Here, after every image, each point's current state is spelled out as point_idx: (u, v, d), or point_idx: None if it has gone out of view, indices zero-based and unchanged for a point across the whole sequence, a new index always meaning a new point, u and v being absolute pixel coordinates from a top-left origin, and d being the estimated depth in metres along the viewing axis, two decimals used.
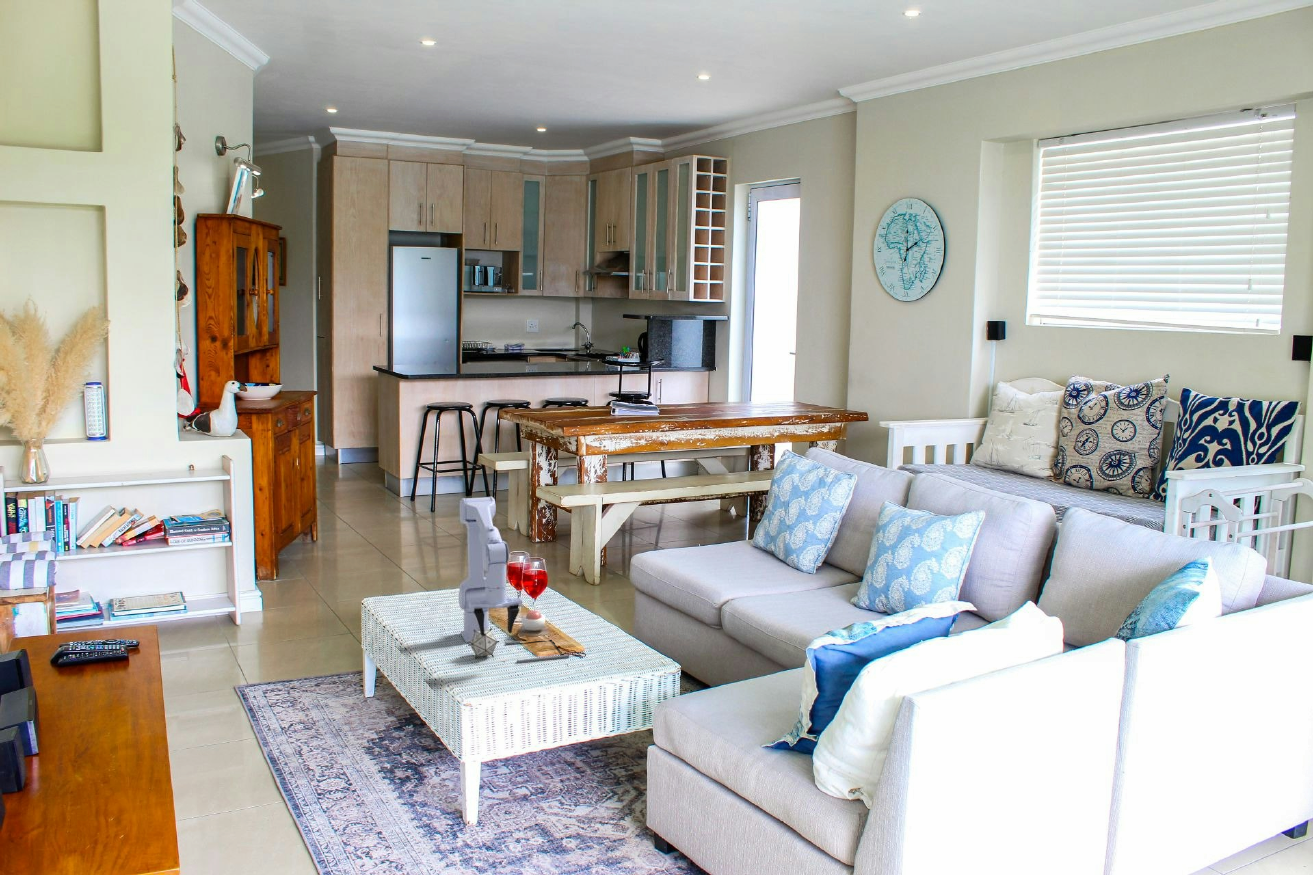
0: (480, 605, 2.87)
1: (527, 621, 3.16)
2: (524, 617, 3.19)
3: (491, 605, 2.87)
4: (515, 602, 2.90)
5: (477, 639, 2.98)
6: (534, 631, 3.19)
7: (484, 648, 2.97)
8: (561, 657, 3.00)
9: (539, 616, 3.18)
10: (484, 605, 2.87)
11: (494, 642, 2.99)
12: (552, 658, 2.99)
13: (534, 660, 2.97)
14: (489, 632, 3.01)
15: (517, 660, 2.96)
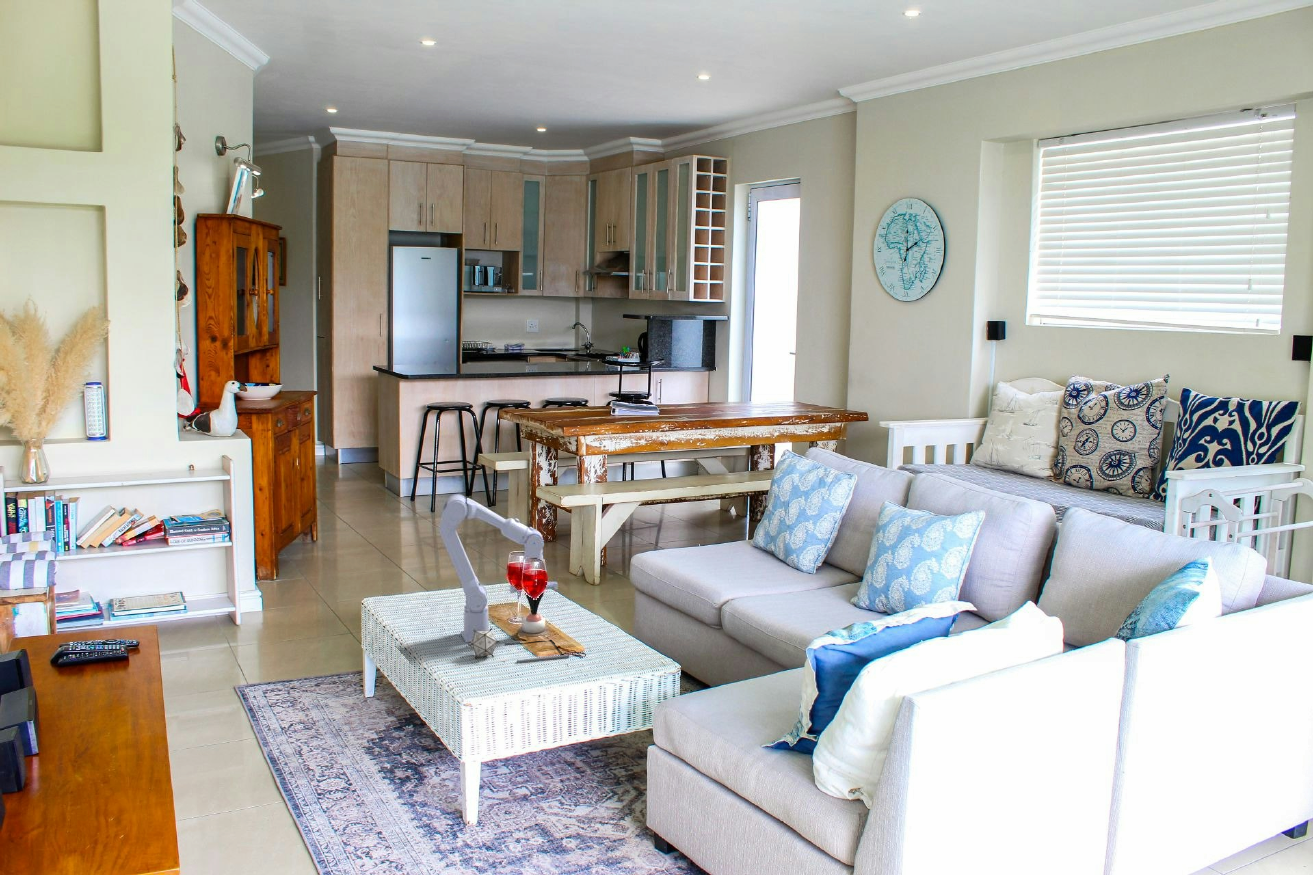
0: None
1: (527, 623, 3.16)
2: (524, 619, 3.19)
3: None
4: (551, 585, 3.18)
5: (477, 639, 2.98)
6: None
7: (484, 648, 2.97)
8: (561, 657, 3.00)
9: (539, 618, 3.18)
10: None
11: (494, 642, 2.99)
12: (552, 658, 2.99)
13: (534, 660, 2.97)
14: (489, 632, 3.01)
15: (517, 660, 2.96)
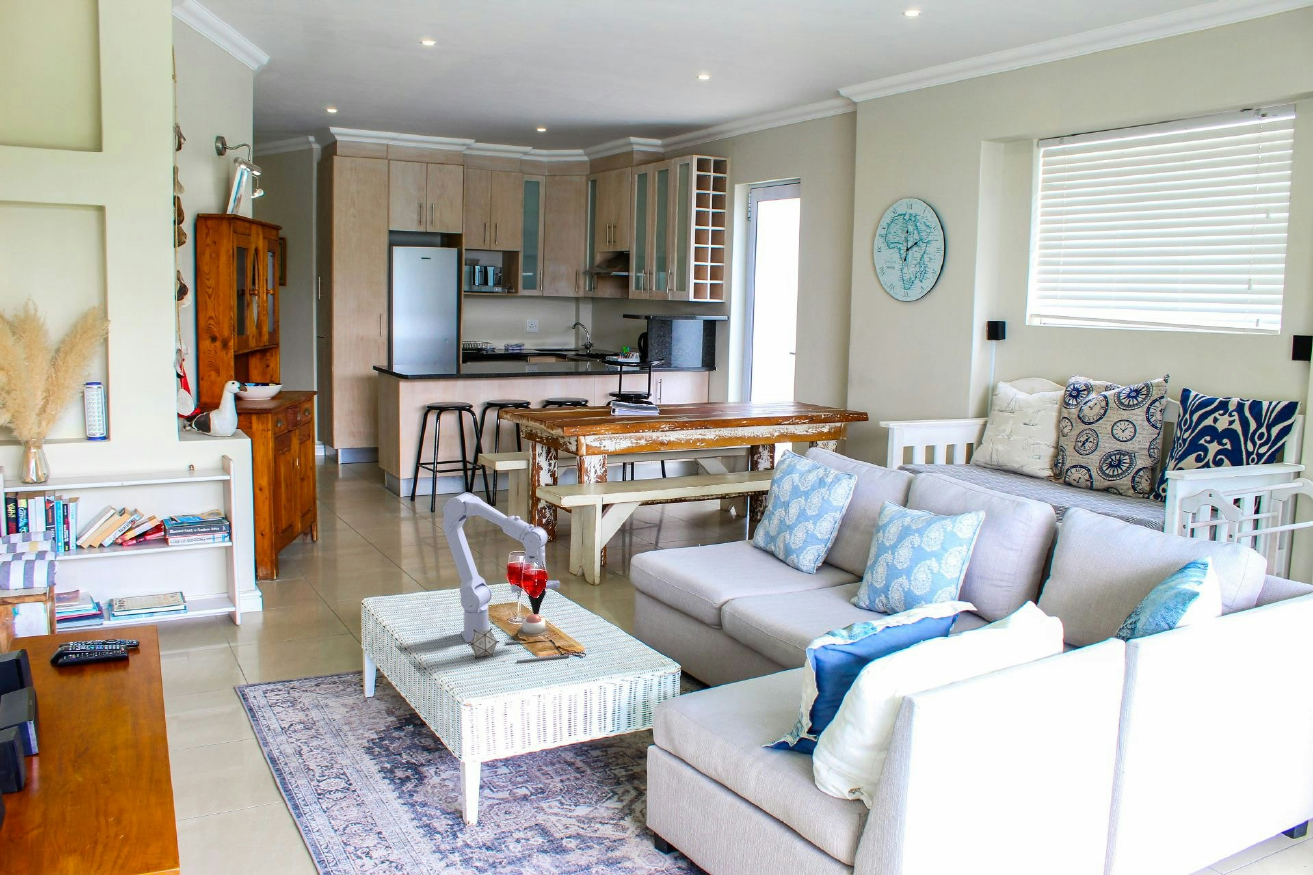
0: None
1: (527, 624, 3.16)
2: (524, 620, 3.19)
3: None
4: (553, 584, 3.10)
5: (477, 639, 2.98)
6: None
7: (484, 648, 2.97)
8: (561, 657, 3.00)
9: (539, 619, 3.18)
10: None
11: (494, 642, 2.99)
12: (552, 658, 2.99)
13: (534, 660, 2.97)
14: (489, 632, 3.01)
15: (517, 660, 2.96)
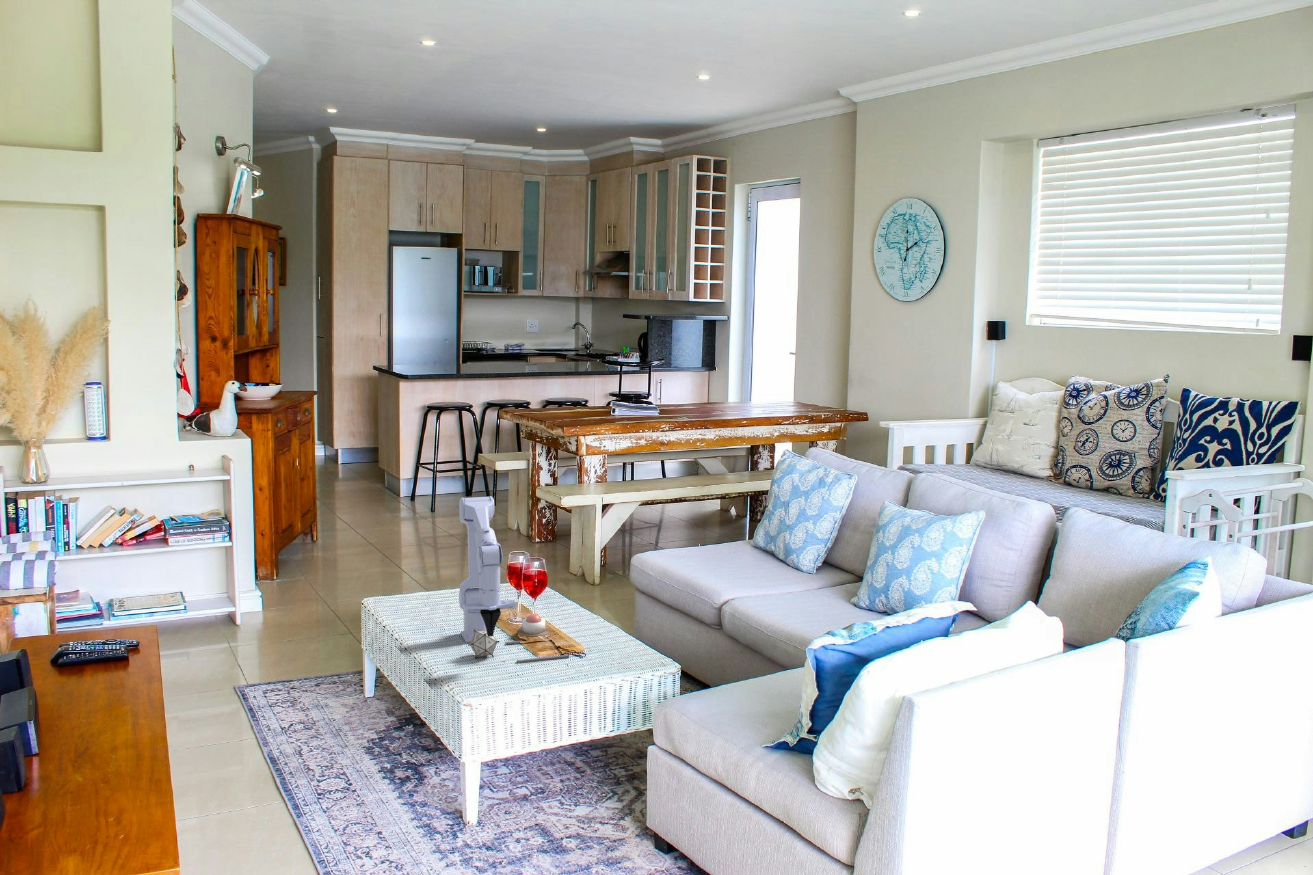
0: (474, 607, 2.87)
1: (527, 624, 3.16)
2: (524, 620, 3.19)
3: (485, 607, 2.87)
4: (509, 604, 2.90)
5: (477, 639, 2.98)
6: None
7: (484, 648, 2.97)
8: (561, 657, 3.00)
9: (539, 619, 3.18)
10: (478, 607, 2.87)
11: (494, 642, 2.99)
12: (552, 658, 2.99)
13: (534, 660, 2.97)
14: None
15: (517, 660, 2.96)
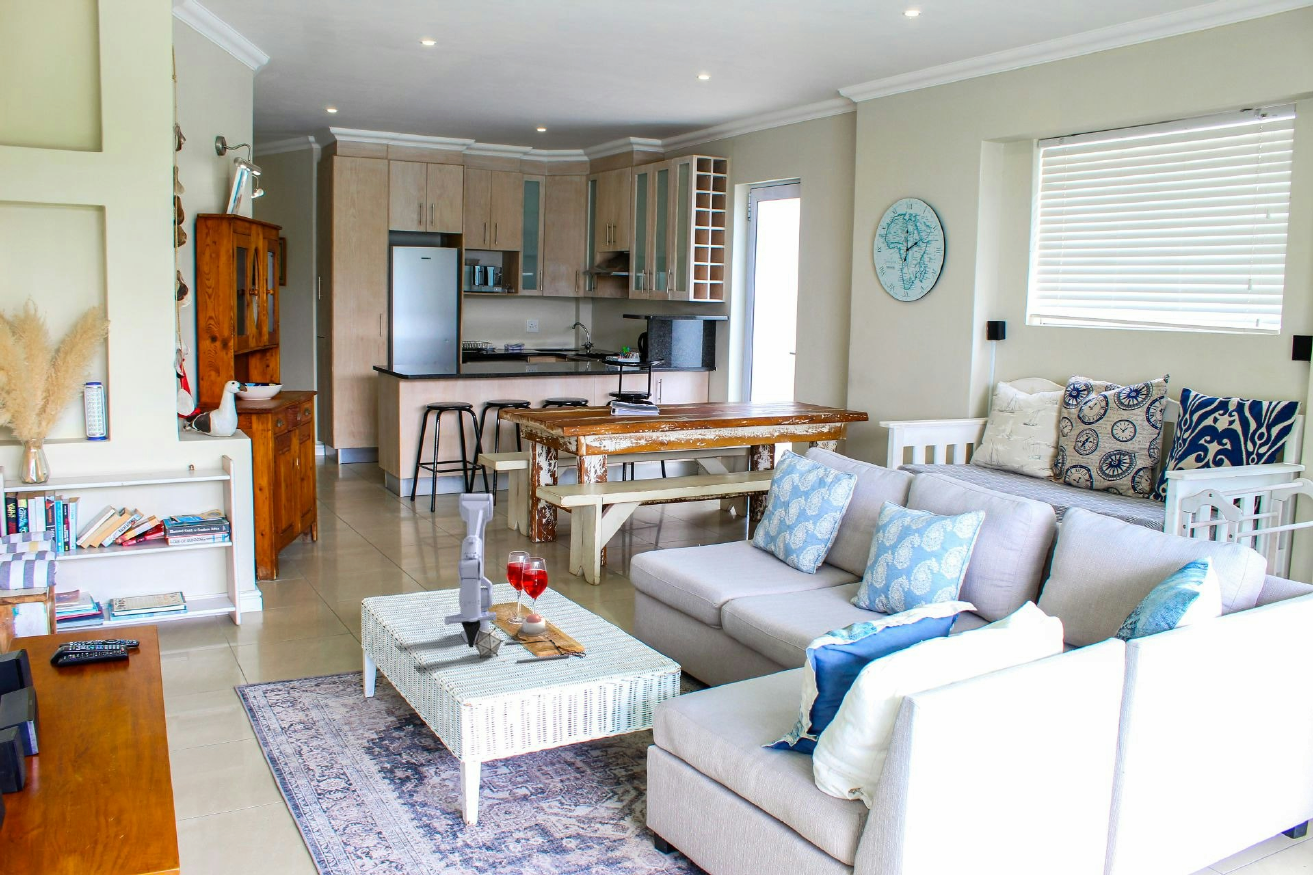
0: (455, 619, 2.95)
1: (527, 624, 3.16)
2: (524, 620, 3.19)
3: (466, 619, 2.95)
4: (489, 616, 2.99)
5: (481, 638, 2.98)
6: None
7: (489, 647, 2.97)
8: (561, 657, 3.00)
9: (539, 619, 3.18)
10: (459, 619, 2.95)
11: (498, 641, 3.00)
12: (552, 658, 2.99)
13: (534, 660, 2.97)
14: (493, 631, 3.01)
15: (517, 660, 2.96)
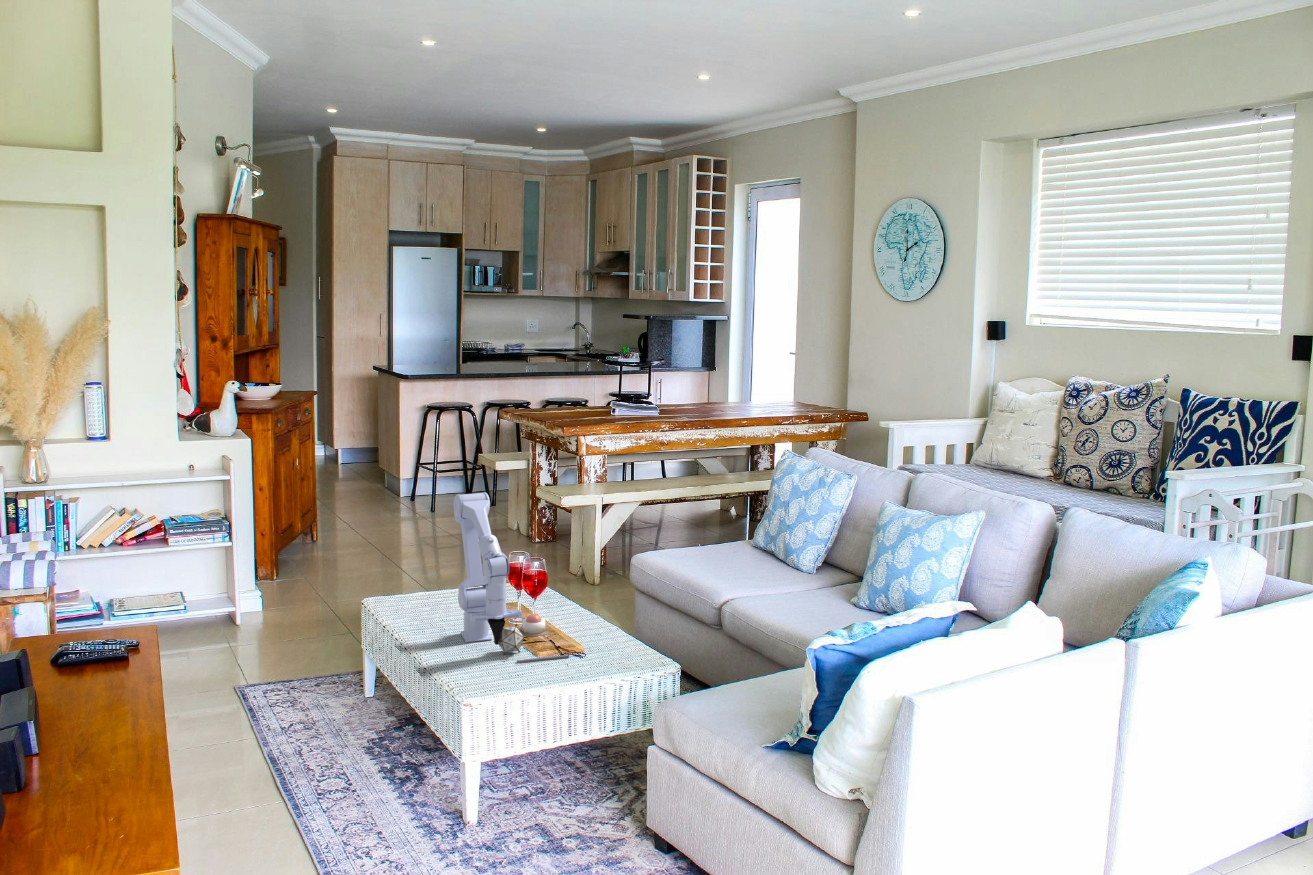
0: (481, 616, 2.97)
1: (527, 624, 3.16)
2: (524, 620, 3.19)
3: (491, 616, 2.97)
4: (515, 613, 3.01)
5: (505, 635, 3.01)
6: None
7: (514, 644, 3.00)
8: (561, 657, 3.00)
9: (539, 619, 3.18)
10: (485, 616, 2.97)
11: (522, 638, 3.03)
12: (552, 658, 2.99)
13: (534, 660, 2.97)
14: (516, 628, 3.04)
15: (517, 660, 2.96)
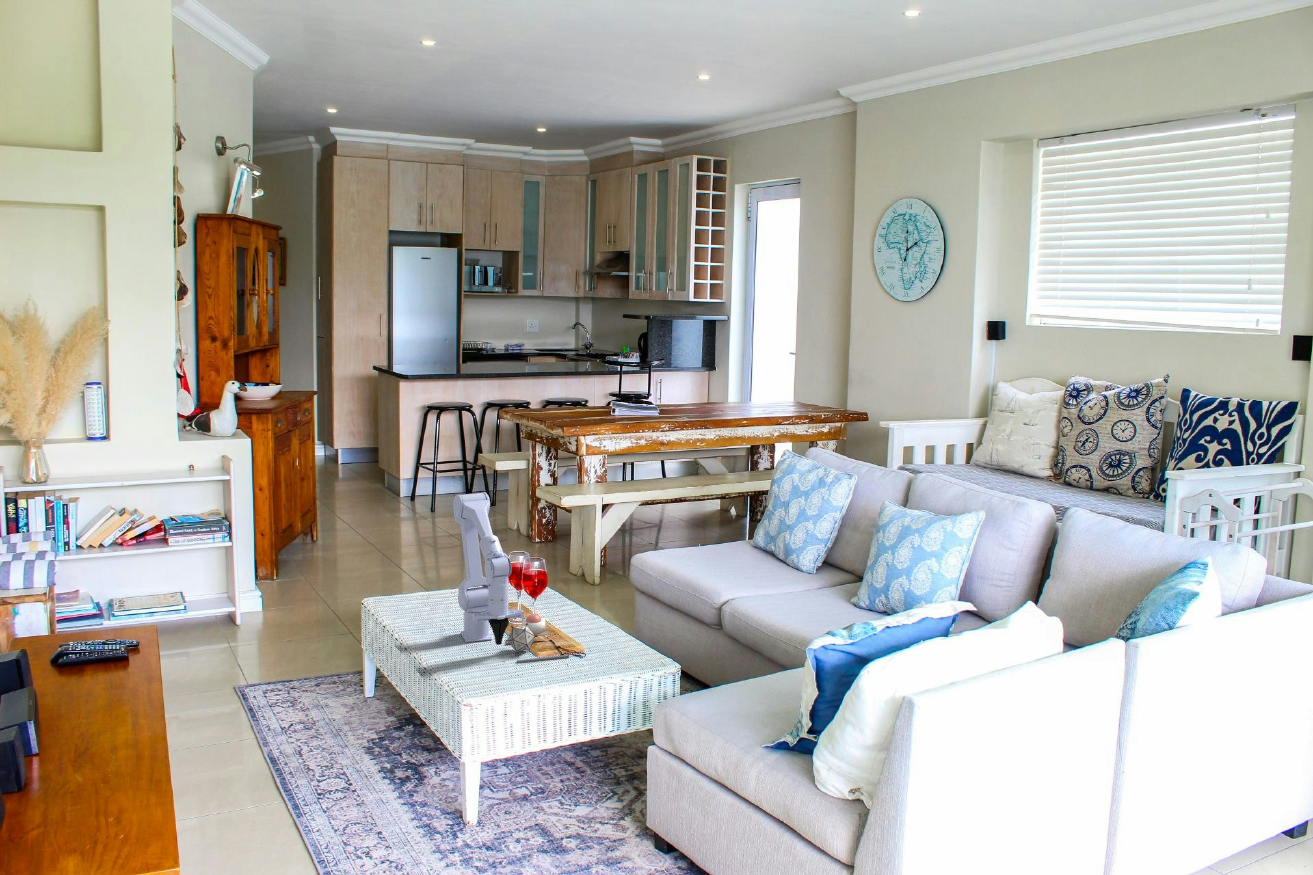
0: (483, 617, 2.98)
1: None
2: (524, 620, 3.19)
3: (494, 617, 2.98)
4: (517, 613, 3.01)
5: (516, 634, 3.02)
6: None
7: (525, 643, 3.02)
8: (561, 657, 3.00)
9: (539, 619, 3.18)
10: (487, 617, 2.98)
11: (533, 636, 3.04)
12: (552, 658, 2.99)
13: (534, 660, 2.97)
14: (526, 627, 3.06)
15: (517, 660, 2.96)
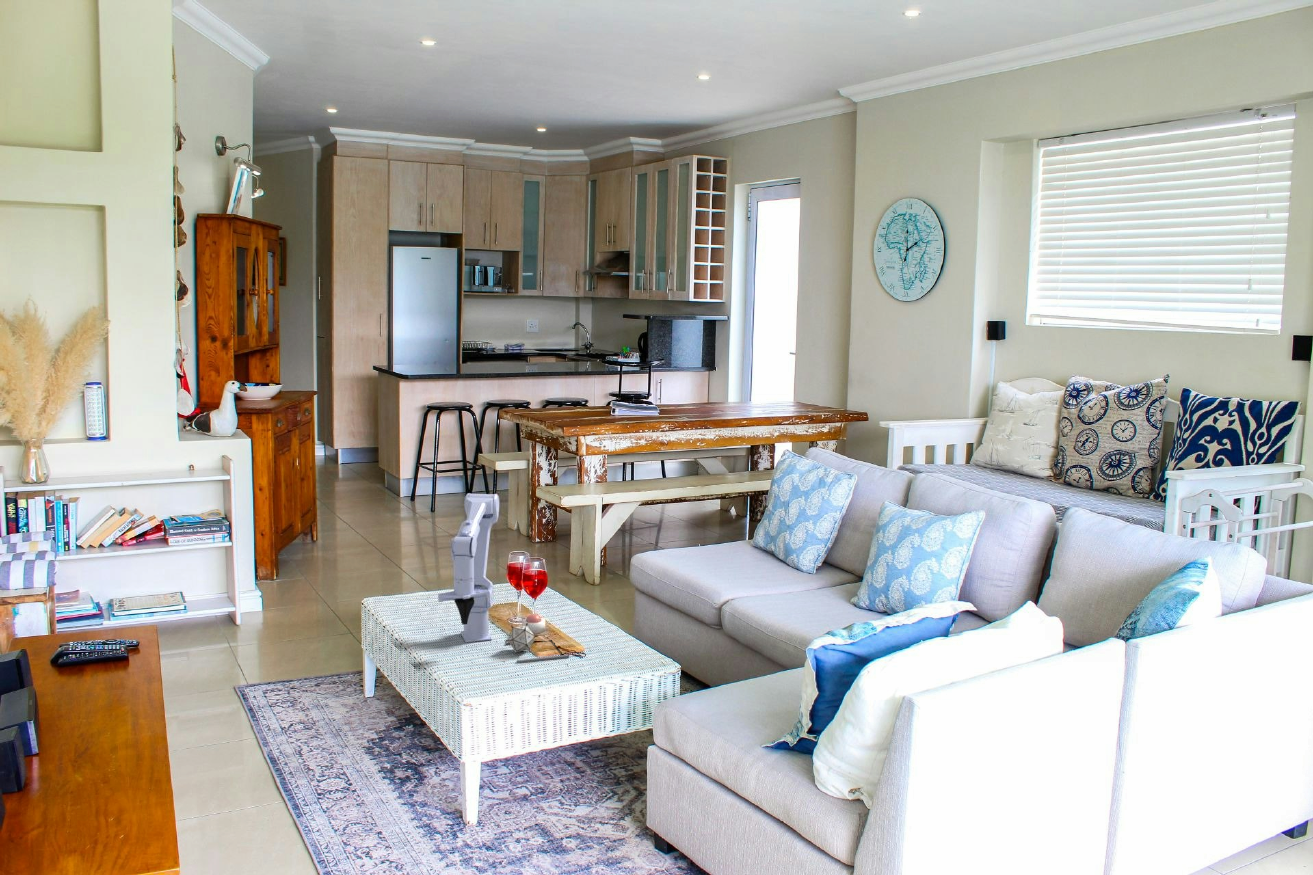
0: (448, 596, 2.97)
1: None
2: (524, 620, 3.19)
3: (459, 596, 2.97)
4: (483, 593, 3.00)
5: (516, 634, 3.02)
6: None
7: (525, 643, 3.02)
8: (561, 657, 3.00)
9: (539, 619, 3.18)
10: (452, 596, 2.97)
11: (533, 636, 3.04)
12: (552, 658, 2.99)
13: (534, 660, 2.97)
14: (526, 627, 3.06)
15: (517, 660, 2.96)
